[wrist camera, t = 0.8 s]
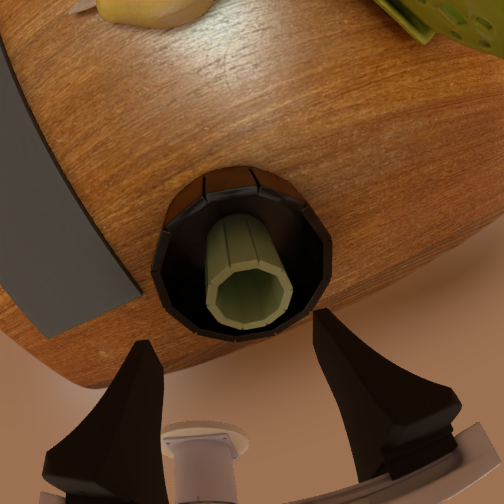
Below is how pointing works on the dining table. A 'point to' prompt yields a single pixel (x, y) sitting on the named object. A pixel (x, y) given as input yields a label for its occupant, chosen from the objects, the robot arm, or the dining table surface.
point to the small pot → (244, 274)
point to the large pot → (280, 229)
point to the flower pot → (452, 21)
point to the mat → (49, 229)
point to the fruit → (146, 11)
